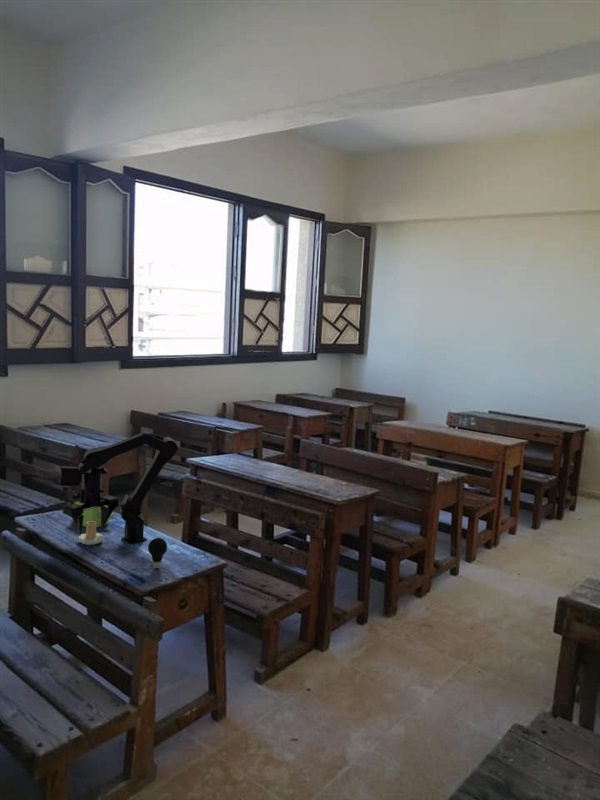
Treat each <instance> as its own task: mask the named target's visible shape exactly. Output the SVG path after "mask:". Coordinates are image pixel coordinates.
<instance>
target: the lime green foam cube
mask: <svg viewBox="0 0 600 800" xmlns="http://www.w3.org/2000/svg"><path fill="white" fill-rule="evenodd" d="M75 504H77V505H83V503H79V501H77V502H75ZM82 515H83V516H84V518H83V525H82V527H85V528H86V523H87V522H89V521H95V522H97V526H96V528H100V527H102V526H101V509H100V507H96V508H92V509H88V510H84V511H83V514H82ZM113 519H114V513H112V514H111V515H110V517H109V518H108V520H107V522H106V524H105V526H106V525H109V523H110V520H113ZM72 522H74V521H73V520H72Z"/></svg>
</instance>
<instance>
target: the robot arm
mask: <svg viewBox="0 0 600 800" xmlns="http://www.w3.org/2000/svg"><path fill="white" fill-rule="evenodd" d="M145 445H146V446H149V447H150V448H152V449H155V453H154V457H153V459H152V461H151V463H150V464H149V466H148V468H147V470H146V471H145V472H144V475H143V477H141V479H140V481H139V483H137V486H136V488H135V489H134V491H133V492H132V493H131V494H130V495H128V494H125V496H124V498H123V500H122V501H121V502H120V500H119V498H118V497H115V496H113V495H111V494H108V495H105V496H102V493H104V490H105V489H103V488H102V479H103V478H102V475H107V474H108V469H106V468H105V466H104V465H105V464H106V463H108V462H109V461H110V460H112V459H113V458H115V457H118V456H119V455H122V454H124V453H125V454H126V453H127V452H130V451H132V450H135V449H137V448H140V447H143V446H145ZM178 450H179V448H178V444H177V443H176V441H175V440H174V439H173V438H172V437H169V436H165V437H163V436H161V435H159V434H158V435H157V434H155V433H151V432H149V431H147V430H144V431H141V432H140V433H137V434H135V435H133V436H130V437H128V438H127V437H126V438H125V439H122V440H120V441H117V442H114V443H112V444H109V445H104V446H96V447H93V448H90V449H89V448H88V450H86V452H85V454H84V458H83V459H82V460H81V462H80V463H79V464H78V466H67V465H64V466H63V465H62V466H61V474H60V487H61V488H70V487H71V488H72V487H75V488H76V487H79V486H80V484H82V482H83V487H81V488H80V492H77V490H71V491H68V500H69V501H71V502H72V501H73V503H70V504H66V505H64V506H63V508H62V514H64V515H66V516H69V517H70V518H71V519H72V522H73V521H74V524H75V528H76V531H77V533H78V534H81V533H82V530H83V526H82V525H83V518H84V516H83V515H82V514H83V511H84V510H88V509H92V508H96V507H100V509H101V526H100V527H102V528H104V527H105V526H106V525H107V524H106V522H107V520H108V518H109V517H110V515H111V514H113V512H114V511H115V510H116V509H117V507H119V506H120V508H119V511H120V515H121V519H122V520H123V521H124V535H123V536H122V537H121V538H120V540H122V541H124V542H127V543H128V544H131V545H135V544H137V543H141V542H144V541H147V537H144V529H145V528H144V527H145V526H144V525H145V524H144V523H145V520H144V517H143V513H142V512H141V509H142V506H143V502H144V499H145V498H146V496H147V495H148V493H149V491H150V489H151V488H152V486H153V485H154V483H155V481H156V480H157V478H158V476H159V474H160V473H161V471H162V470H163V468H164V466H165V465H167V463H169V462H170V461H171V460H172V459H173V458H174V456H175V455H176V454H177V452H178ZM77 501H79V503H83V505H77V504H75V502H77ZM105 524H106V525H105Z"/></svg>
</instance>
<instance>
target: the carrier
mask: <svg viewBox="0 0 600 800" xmlns="http://www.w3.org/2000/svg"><path fill="white" fill-rule="evenodd" d="M98 543H99V542H98ZM98 543H96V545H98ZM81 544H82V545H84V544H83V543H82V542H81ZM99 544H100V543H99ZM84 546H95V544H86V543H85V545H84Z"/></svg>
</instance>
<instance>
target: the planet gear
mask: <svg viewBox="0 0 600 800" xmlns="http://www.w3.org/2000/svg"><path fill="white" fill-rule="evenodd" d="M96 526H97V522H95V521H89V522H87V523H86V527H85V533H82V534H81V533H80V535H79V536H78V542H79V543H81V544H82V543H83V544H82V545H84V544H85V543H86V544H96V543H98V542H99V544H100V543H102V541H104V535H103V534H100V532H97V527H96ZM96 545H97V544H96Z"/></svg>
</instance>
